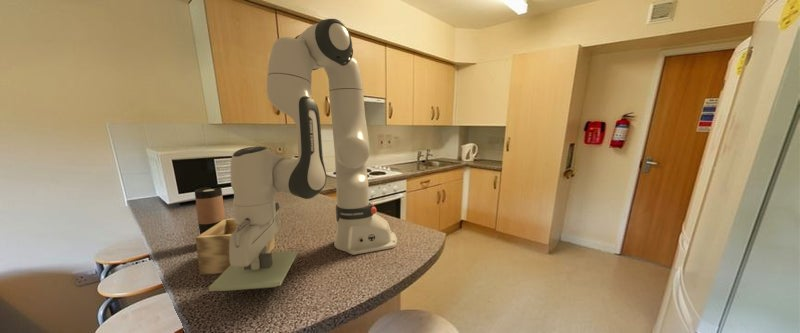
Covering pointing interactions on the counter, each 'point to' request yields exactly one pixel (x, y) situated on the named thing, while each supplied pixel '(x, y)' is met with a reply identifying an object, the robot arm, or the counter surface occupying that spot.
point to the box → (218, 247)
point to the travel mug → (209, 207)
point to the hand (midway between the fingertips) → (259, 264)
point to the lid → (256, 273)
